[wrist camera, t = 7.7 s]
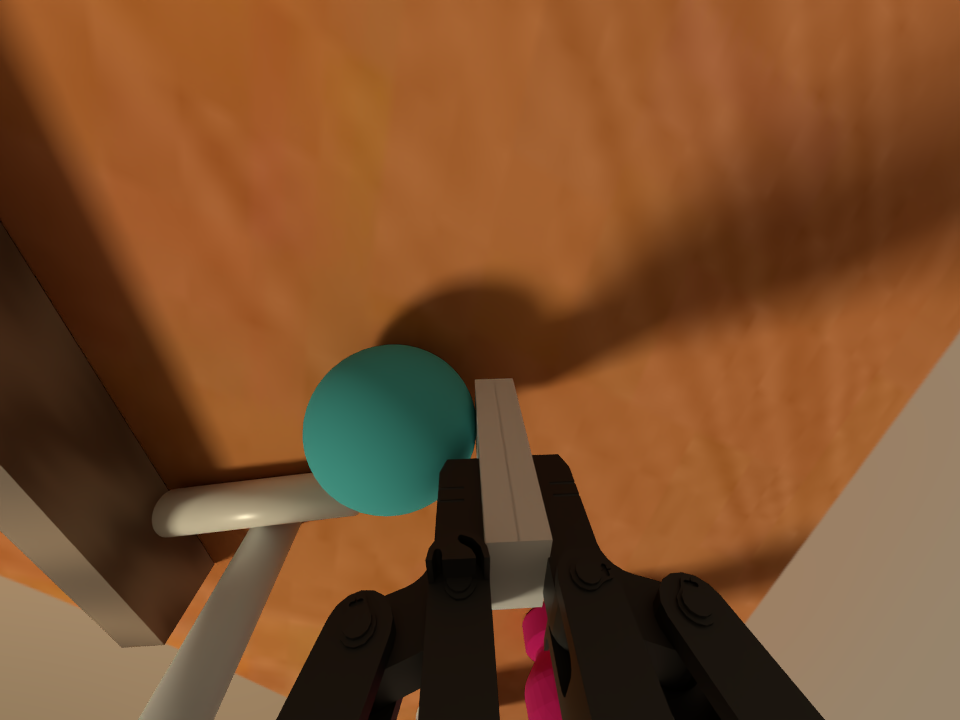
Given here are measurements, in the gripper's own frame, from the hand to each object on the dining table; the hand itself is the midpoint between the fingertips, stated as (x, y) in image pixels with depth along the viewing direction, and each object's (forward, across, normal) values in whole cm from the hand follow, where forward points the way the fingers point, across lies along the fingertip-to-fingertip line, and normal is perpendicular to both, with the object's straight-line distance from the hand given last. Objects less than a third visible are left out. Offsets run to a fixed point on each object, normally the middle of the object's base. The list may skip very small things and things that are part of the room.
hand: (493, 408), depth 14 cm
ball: (-1, +4, 0) cm, 4 cm away
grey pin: (+2, +11, +8) cm, 14 cm away
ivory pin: (+1, +7, +6) cm, 9 cm away
